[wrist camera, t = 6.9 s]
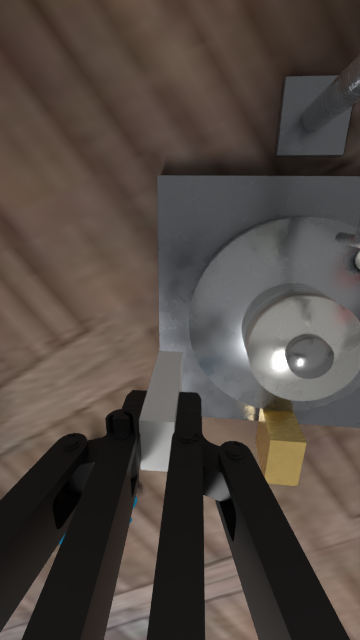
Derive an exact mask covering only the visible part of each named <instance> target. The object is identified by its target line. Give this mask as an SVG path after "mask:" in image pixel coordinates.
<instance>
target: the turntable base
mask: <svg viewBox="0 0 360 640" xmlns="http://www.w3.org/2000/svg"><path fill="white" fill-rule="evenodd" d="M157 191H158V263H159V336H160V351H175V352H183V362H182V392H197V393H198V394H199V396H200V397H201V406H202V417H213V418H227V419H242V420H256V421H258V420H259V413H260V408H256V407H253V406H250V405H247V404H244V403H242V402H240V401H238V400H236V399H234V398H232V397H230V396H229V395H227V394H226V393H224V392H223V391H222V390H220V389H219V388H218V387H217V386H216V385H215V384H214V383H213V382H212V381H211V380H210V379H209V378H208V377H207V376H206V374H205V373H204V371H203V370H202V368H201V367H200V365H199V363H198V361H197V359H196V357H195V355H194V352H193V349H192V346H191V341H190V336H189V313H190V306H191V301H192V297H193V293H194V290H195V287H196V284H197V282H198V279H199V277H200V276H201V274H202V272H203V270H204V268H205V267H206V266H207V264H208V263H209V261H210V260H211V259H212V257H213V256H214V255H215V254H216V253H217V252H218V251H219V250H220V249H221V248H222V247H223V246H224V245H225V244H227V243H228V242H229V241H230V240H232V239H233V238H234V237H236V236H237V235H239V234H241V233H242V232H244V231H245V230H248V229H250V228H252V227H254V226H256V225H258V224H261V223H264V222H268V221H271V220H274V219H280V218H285V217H299V216H305V217H318V218H327V219H331V220H336V221H340V222H343V223H345V224H348V225H350V226H353V227H355V228H358V224H359V219H360V176H181V175H157ZM293 412H294V414H295V417H296V419H297V421H298V423H299V424H313V425H327V426H341V427H356V428H360V387H359V388H358V389H356V390H355V391H353V392H352V393H350V394H348V395H346V396H345V397H343V398H341V399H339V400H337V401H334V402H332V403H329V404H327V405H323V406H320V407H317V408H312V409H307V410H301V411H293Z"/></svg>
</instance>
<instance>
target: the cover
mask: <svg viewBox="0 0 360 640" xmlns="http://www.w3.org/2000/svg"><path fill="white" fill-rule="evenodd" d="M241 331H242V338H243V342H244V346H245V349H246V353H247V356H248V360H249V363H250V367H251V370H252V372H253V374H254V376H255V378H256V379H257V381H258V382H259V383H260V384H261V385H262V386H263V387H264V388H265V389H266V390H268V391H269V392H270V393H272V394H274V395H276V396H278V397H281V398H284V399H288V400H293V401H312V400H317V399H321V398H324V397H327V396H330V395H332V394H334V393H336V392H338V391H339V390H341V389H342V388H344V387H345V386H346V385H347V384H348V383H349V382H351V380H352V379H353V378H354V377H355V376H356V374H357V373H358V372H359V370H360V321H359V320H358V318H357V317H356V316H355V315H354V314H353V313H352V312H351V311H349V310H348V309H347V308H345V307H344V306H342V305H341V304H339V303H338V302H336V301H335V300H333V299H332V298H330V297H329V296H327V295H325V294H324V293H322V292H321V291H319V290H318V289H316V288H314V287H312V286H309V285H306V284H301V283H285V284H280V285H277V286H274V287H271V288H269V289H267V290H265V291H264V292H262V293H261V294H260V295H258V296H257V297H256V298H255V299H254V300H253V301H252V302H251V304H250V305H249V307H248V308H247V310H246V312H245V314H244V317H243V321H242V328H241Z"/></svg>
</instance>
